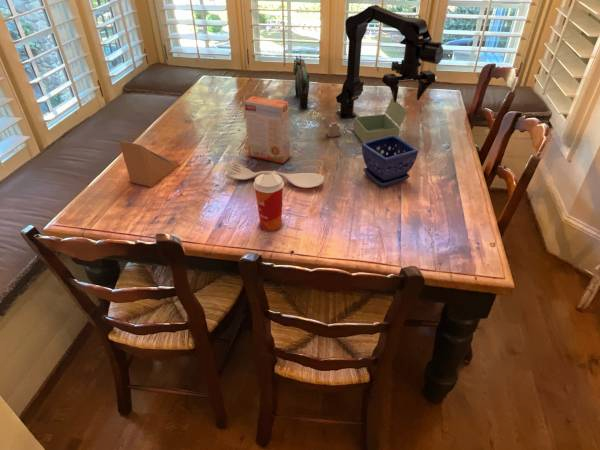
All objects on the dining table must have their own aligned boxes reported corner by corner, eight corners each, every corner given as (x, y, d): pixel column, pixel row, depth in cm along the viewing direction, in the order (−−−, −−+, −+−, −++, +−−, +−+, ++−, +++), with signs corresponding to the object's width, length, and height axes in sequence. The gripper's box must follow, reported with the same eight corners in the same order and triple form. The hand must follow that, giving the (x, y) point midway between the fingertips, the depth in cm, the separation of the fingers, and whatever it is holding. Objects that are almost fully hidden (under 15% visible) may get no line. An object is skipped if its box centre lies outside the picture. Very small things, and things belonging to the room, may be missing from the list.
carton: (353, 131, 174) (354, 117, 171) (383, 127, 176) (385, 113, 173) (365, 146, 163) (367, 132, 160) (397, 142, 166) (399, 128, 162)
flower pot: (381, 192, 138) (385, 159, 131) (357, 173, 148) (360, 141, 140) (414, 182, 143) (420, 149, 136) (389, 164, 152) (393, 133, 145)
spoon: (233, 170, 150) (232, 161, 148) (325, 178, 145) (326, 169, 143) (225, 183, 143) (224, 174, 141) (321, 193, 138) (321, 184, 136)
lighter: (338, 134, 172) (339, 114, 167) (339, 135, 171) (340, 116, 166) (320, 135, 171) (321, 116, 166) (321, 137, 169) (322, 118, 165)
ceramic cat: (292, 94, 206) (292, 50, 194) (306, 93, 207) (306, 50, 195) (297, 110, 191) (296, 64, 179) (311, 110, 191) (312, 63, 179)
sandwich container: (179, 165, 153) (171, 125, 144) (151, 187, 141) (141, 145, 132) (158, 161, 155) (150, 121, 146) (130, 181, 144) (118, 140, 135)
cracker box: (290, 157, 157) (289, 101, 144) (283, 164, 153) (281, 107, 140) (256, 149, 162) (252, 94, 149) (248, 156, 158) (243, 100, 145)
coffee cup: (256, 216, 128) (253, 172, 119) (284, 215, 129) (283, 171, 120) (256, 234, 122) (252, 189, 112) (286, 232, 122) (284, 187, 113)
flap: (391, 97, 169) (392, 97, 169) (385, 112, 172) (385, 112, 173) (406, 110, 159) (407, 111, 159) (399, 126, 162) (400, 126, 162)
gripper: (426, 50, 162) (419, 91, 172) (379, 54, 159) (375, 95, 169) (440, 58, 154) (432, 101, 163) (390, 63, 151) (385, 106, 160)
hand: (406, 101), depth 164 cm, fingers open, 9 cm apart
